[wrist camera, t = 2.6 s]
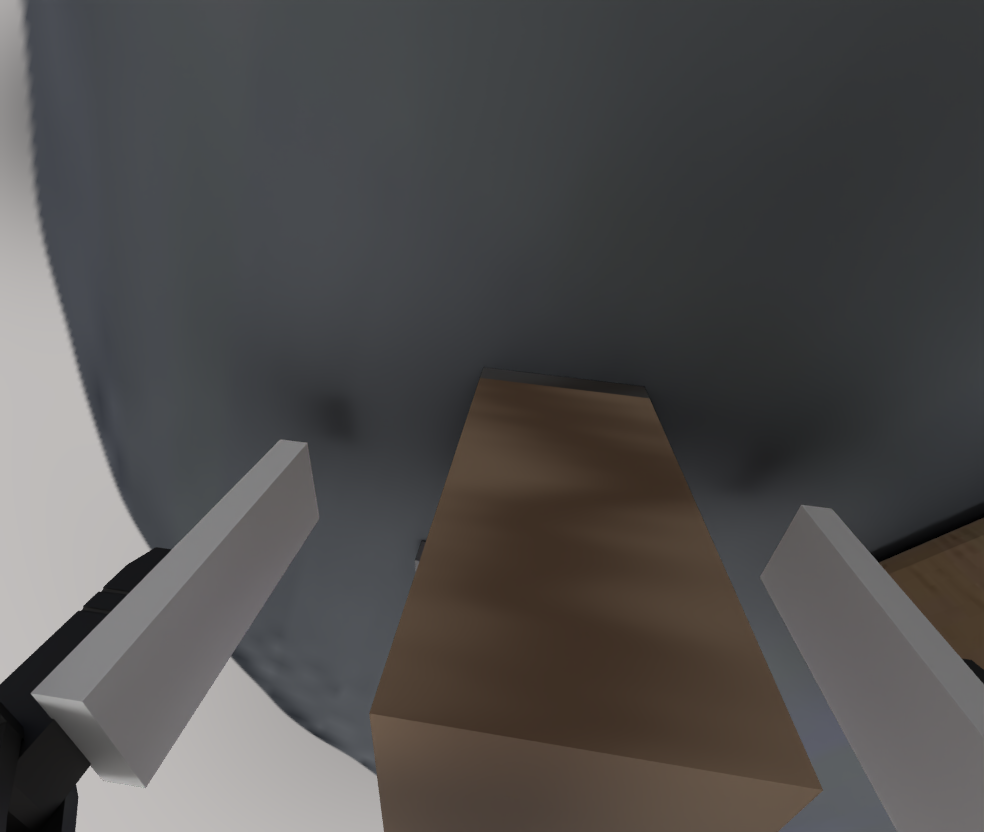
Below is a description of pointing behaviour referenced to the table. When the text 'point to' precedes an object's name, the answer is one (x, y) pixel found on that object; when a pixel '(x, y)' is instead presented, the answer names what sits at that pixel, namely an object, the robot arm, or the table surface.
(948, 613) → the wooden block
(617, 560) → the stamp
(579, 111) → the table surface
